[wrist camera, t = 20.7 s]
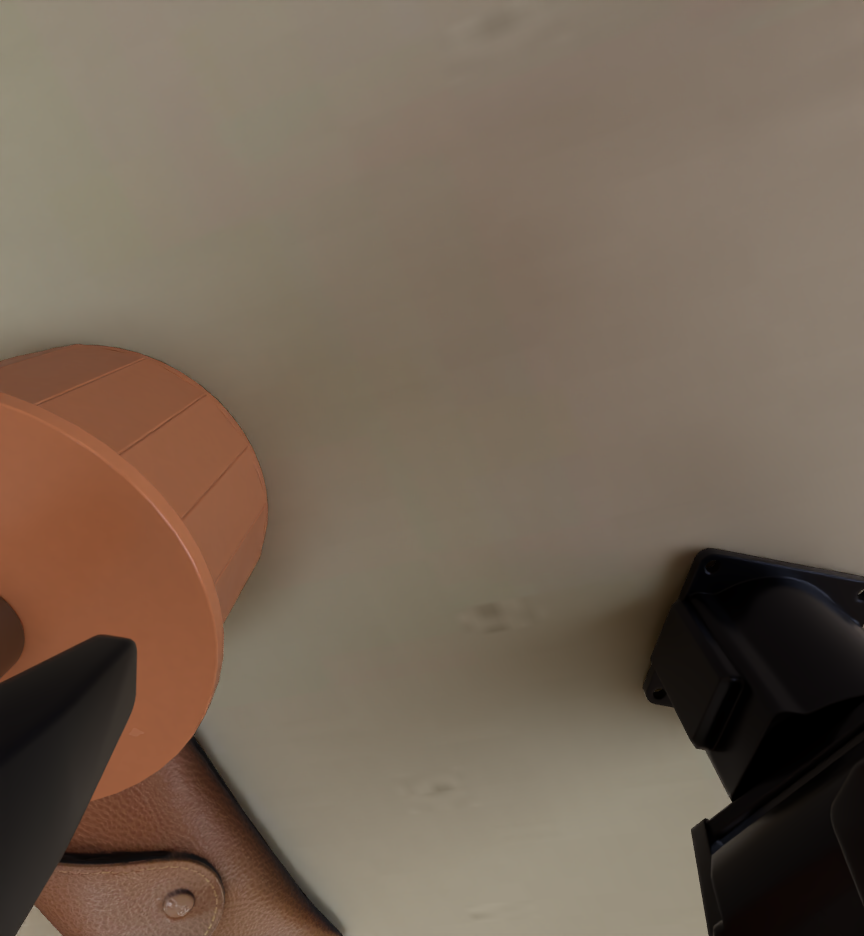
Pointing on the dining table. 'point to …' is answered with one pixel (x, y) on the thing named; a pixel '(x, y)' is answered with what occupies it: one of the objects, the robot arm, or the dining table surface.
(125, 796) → the sunglasses case
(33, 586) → the lid
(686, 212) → the dining table surface
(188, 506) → the pot
